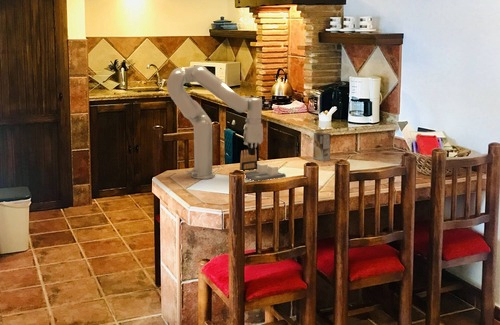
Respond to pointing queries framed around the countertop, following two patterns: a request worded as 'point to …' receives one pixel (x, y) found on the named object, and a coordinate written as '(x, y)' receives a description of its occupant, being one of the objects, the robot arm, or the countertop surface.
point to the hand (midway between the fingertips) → (252, 154)
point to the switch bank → (262, 175)
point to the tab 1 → (262, 168)
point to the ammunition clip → (248, 161)
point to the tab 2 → (272, 170)
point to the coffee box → (321, 146)
